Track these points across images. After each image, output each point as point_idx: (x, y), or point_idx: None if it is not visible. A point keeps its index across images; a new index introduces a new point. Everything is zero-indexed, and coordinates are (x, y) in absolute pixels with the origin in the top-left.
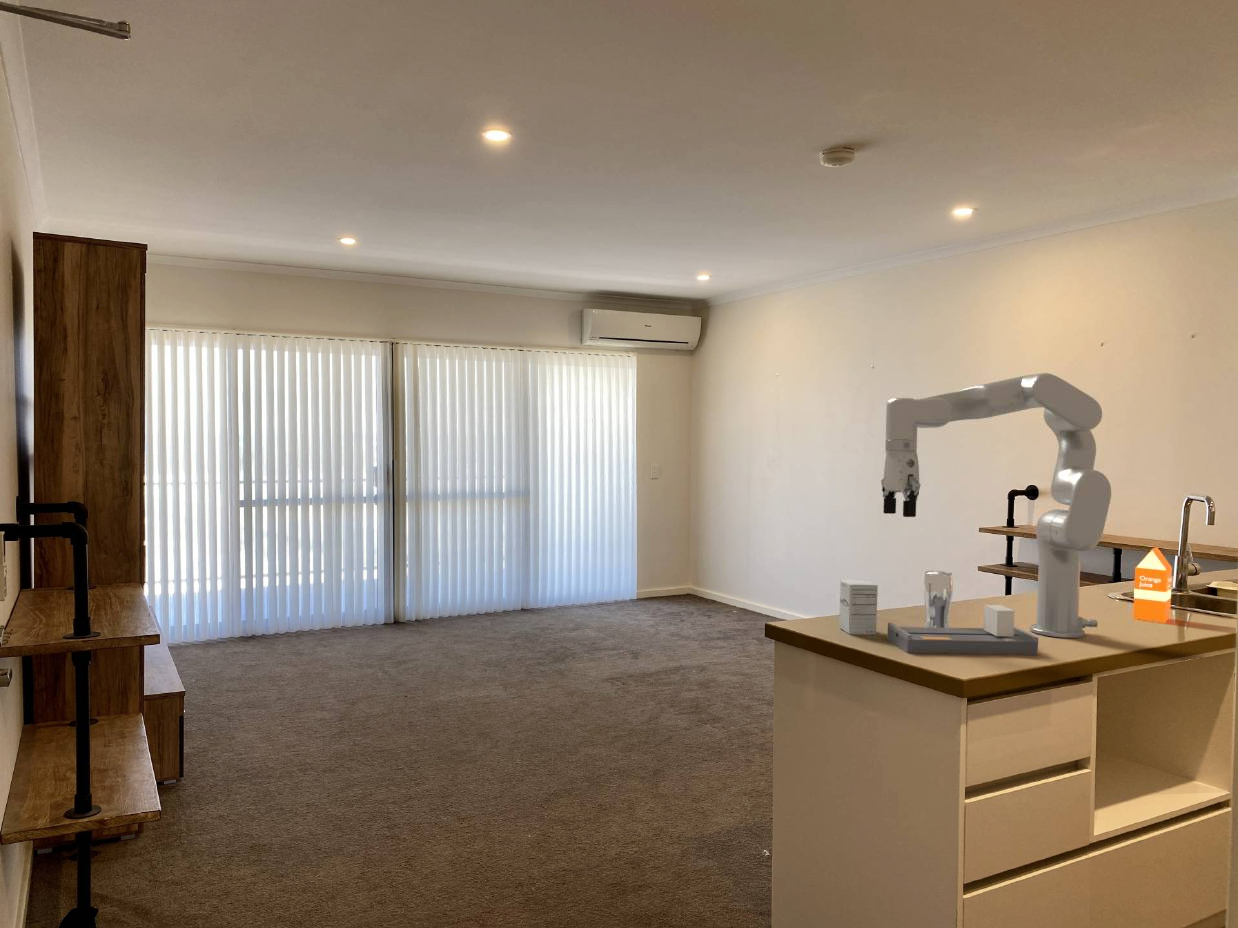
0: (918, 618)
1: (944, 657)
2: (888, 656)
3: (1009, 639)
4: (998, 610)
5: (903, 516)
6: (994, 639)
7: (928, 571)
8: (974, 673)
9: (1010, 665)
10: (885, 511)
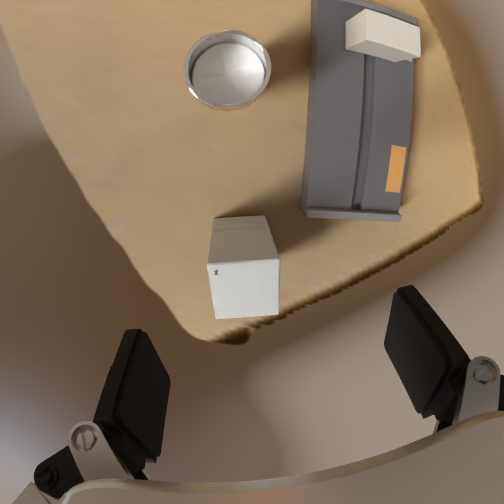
0: (108, 88)
1: (414, 170)
2: (398, 245)
3: None
4: (420, 55)
5: (386, 343)
6: (403, 74)
7: (194, 89)
8: (469, 175)
9: (450, 105)
10: (169, 386)
